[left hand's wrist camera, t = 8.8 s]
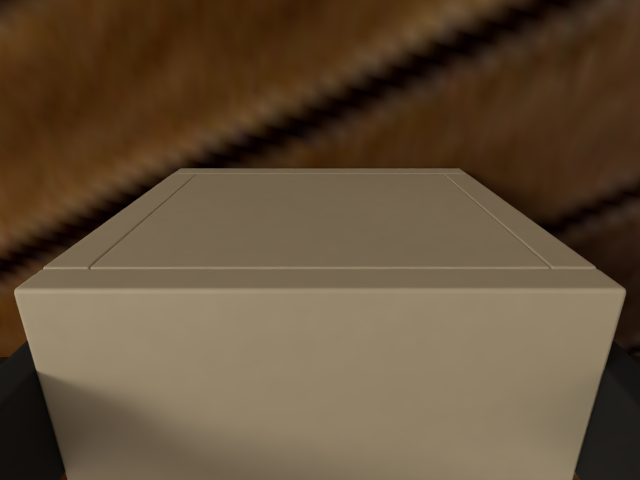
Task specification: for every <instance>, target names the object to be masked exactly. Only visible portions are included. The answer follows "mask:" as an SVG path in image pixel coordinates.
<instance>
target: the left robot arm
mask: <svg viewBox="0 0 640 480" xmlns="http://www.w3.org/2000/svg"><path fill="white" fill-rule="evenodd" d="M575 472H576V473H577V475H578V477H579V478H580V480H640V356H629V355H628V354H627V353H626V352H625V351H624V350H623V349H622V348H621V347H620V346H619V345H618V344H616V343H615V342H614V341H612V345H611V348H610V352H609V355H608V359H607V362H606V366H605V369H604V373H603V376H602V379H601V383H600V386H599V390H598V393H597V397H596V400H595V404H594V407H593V411H592V414H591V418H590V421H589V425H588V428H587V432H586V435H585V439H584V442H583V446H582V449H581V453H580V456H579V460H578V463H577V467H576V470H575ZM64 473H65V468H64V465H63V461H62V458H61V454H60V451H59V447H58V444H57V440H56V437H55V433H54V430H53V427H52V423H51V420H50V416H49V413H48V409H47V406H46V402H45V399H44V395H43V392H42V388H41V385H40V381H39V378H38V374H37V371H36V367H35V364H34V360H33V357H32V353H31V350H30V346H29V343H28V340H27V341H26V342H25V343H24V344H23V345H22V346H21V347H20V348H19V349H18V350H17V351H16V352H15V353H13V354H12V355H11V356H10V357H1V358H0V480H60V479H61V477H62V476H63V474H64Z"/></svg>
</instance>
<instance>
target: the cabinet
mask: <svg viewBox="0 0 640 480" xmlns="http://www.w3.org/2000/svg"><path fill="white" fill-rule="evenodd" d="M14 294H15V298H16V301H17V305H18V308H19V312H20V315H21V318H22V322H23V325H24V329H25V332H26V336H27V339H28V343H29V346H30V350H31V353H32V357H33V360H34V364H35V367H36V371H37V374H38V378H39V381H40V385H41V388H42V392H43V395H44V399H45V402H46V406H47V409H48V413H49V416H50V420H51V423H52V427H53V430H54V433H55V437H56V440H57V444H58V447H59V451H60V454H61V458H62V461H63V465H64V468H65V472H66V475H67V479H68V480H573V477H574V474H575V470H576V467H577V463H578V460H579V456H580V453H581V449H582V446H583V442H584V439H585V435H586V432H587V428H588V425H589V421H590V418H591V414H592V411H593V407H594V404H595V400H596V397H597V393H598V390H599V386H600V383H601V379H602V376H603V373H604V369H605V366H606V362H607V359H608V355H609V352H610V348H611V345H612V341H613V338H614V334H615V331H616V327H617V324H618V320H619V317H620V313H621V310H622V306H623V303H624V299H625V296H626V290H625V288H623V287H622V286H621V285H619V284H618V283H617V282H615V281H614V280H612V279H611V278H610V277H608V276H607V275H605V274H604V273H603V272H601V271H600V270H597V269H596V267H595V266H594V265H593V264H591V263H590V262H588V261H587V260H586V259H584V258H583V257H581V256H580V255H579V254H577V253H576V252H575V251H573V250H572V249H570V248H569V247H568V246H566V245H565V244H563V243H562V242H561V241H559V240H558V239H557V238H555V237H554V236H552V235H551V234H550V233H548V232H547V231H546V230H544V229H543V228H541V227H540V226H539V225H537V224H536V223H534V222H533V221H532V220H530V219H529V218H528V217H526V216H525V215H523V214H522V213H521V212H519V211H518V210H516V209H515V208H514V207H512V206H511V205H510V204H508V203H507V202H505V201H504V200H503V199H501V198H500V197H499V196H497V195H496V194H494V193H493V192H492V191H490V190H489V189H487V188H486V187H485V186H483V185H482V184H481V183H479V182H478V181H476V180H475V179H474V178H472V177H471V176H469V175H468V174H467V173H465V172H464V171H462V170H461V169H179V170H178V171H176V172H175V173H174V174H172V175H170V176H169V177H168V178H166V179H165V180H164V181H162V182H161V183H159V184H158V185H157V186H155V187H154V188H152V189H151V190H150V191H148V192H147V193H146V194H144V195H143V196H141V197H140V198H139V199H137V200H136V201H135V202H133V203H132V204H130V205H129V206H128V207H126V208H125V209H123V210H122V211H121V212H119V213H118V214H117V215H115V216H114V217H112V218H111V219H110V220H108V221H107V222H106V223H104V224H103V225H101V226H100V227H99V228H97V229H96V230H94V231H93V232H92V233H90V234H89V235H88V236H86V237H85V238H83V239H82V240H81V241H79V242H78V243H77V244H75V245H74V246H72V247H71V248H70V249H68V250H67V251H65V252H64V253H63V254H61V255H60V256H59V257H57V258H56V259H54V260H53V261H52V262H50V263H49V264H48V265H46V266H45V267H44V269H43V270H41V271H39V272H38V273H37V274H35V275H34V276H33V277H31V278H30V279H28V280H27V281H26V282H24V283H23V284H22V285H20V286H19V287H17V288H16V289H15V293H14Z"/></svg>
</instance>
